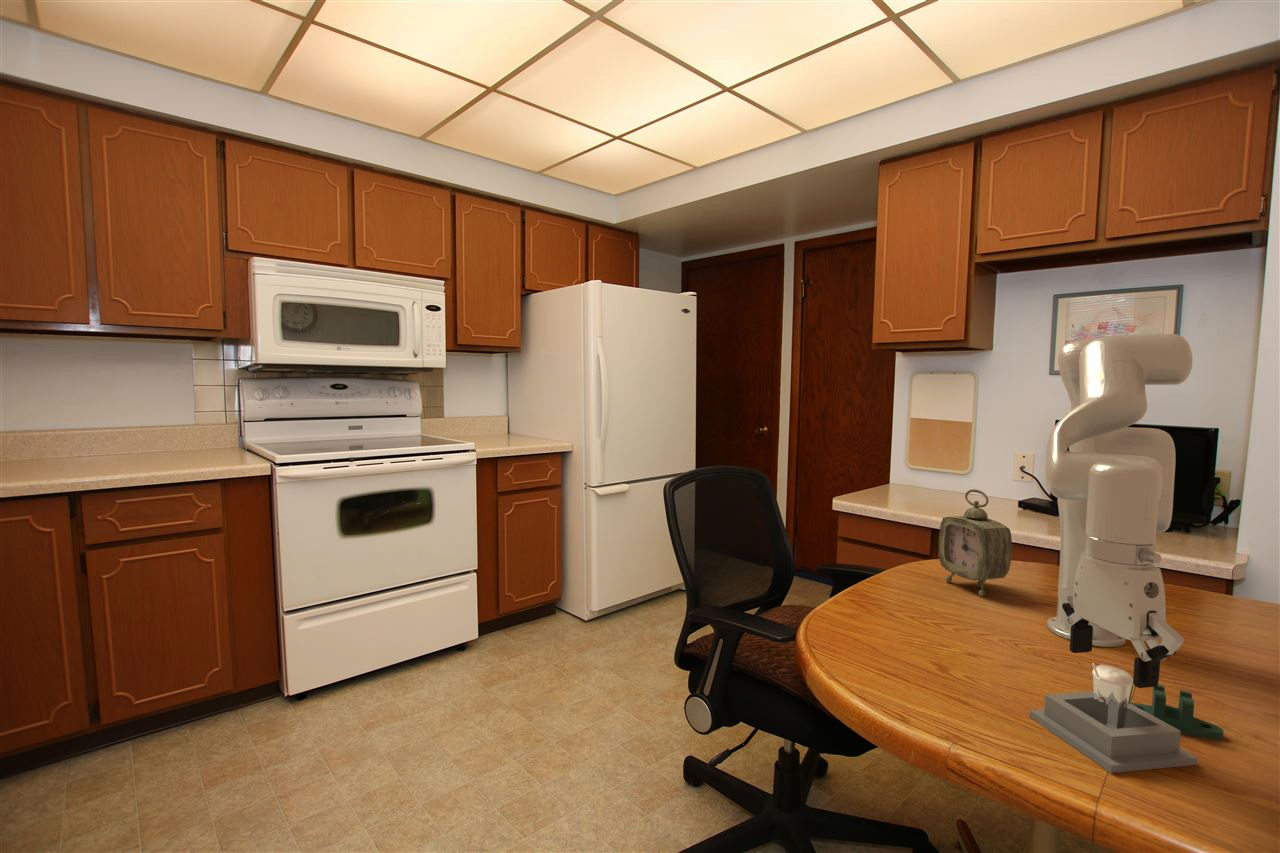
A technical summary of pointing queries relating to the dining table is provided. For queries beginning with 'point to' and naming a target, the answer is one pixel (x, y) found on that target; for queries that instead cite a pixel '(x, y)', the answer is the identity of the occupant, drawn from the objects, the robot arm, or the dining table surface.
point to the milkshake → (1111, 695)
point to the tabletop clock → (975, 545)
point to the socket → (1113, 735)
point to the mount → (1180, 715)
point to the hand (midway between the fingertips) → (1111, 667)
